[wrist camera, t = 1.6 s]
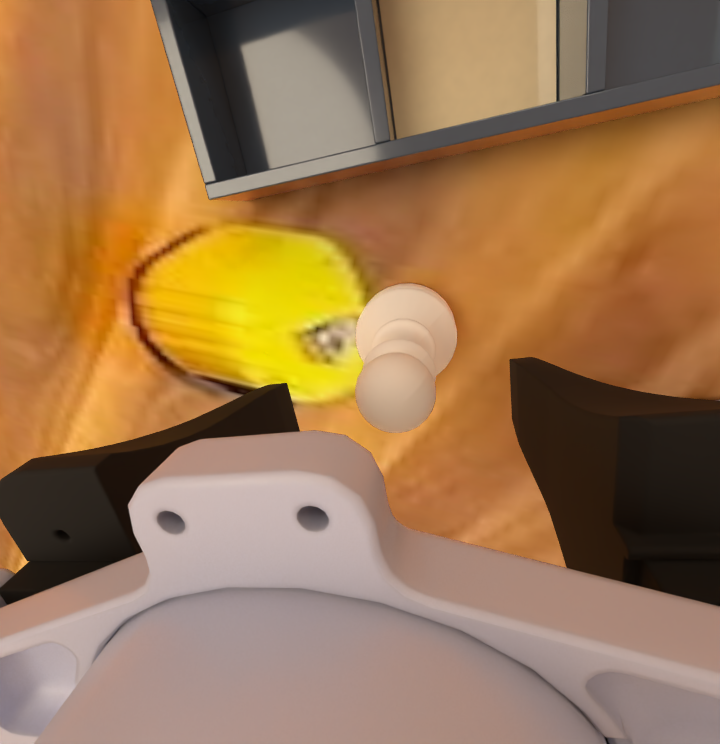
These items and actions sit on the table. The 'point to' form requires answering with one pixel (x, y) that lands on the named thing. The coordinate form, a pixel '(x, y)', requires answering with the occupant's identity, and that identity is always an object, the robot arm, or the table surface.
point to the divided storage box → (416, 78)
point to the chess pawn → (402, 355)
